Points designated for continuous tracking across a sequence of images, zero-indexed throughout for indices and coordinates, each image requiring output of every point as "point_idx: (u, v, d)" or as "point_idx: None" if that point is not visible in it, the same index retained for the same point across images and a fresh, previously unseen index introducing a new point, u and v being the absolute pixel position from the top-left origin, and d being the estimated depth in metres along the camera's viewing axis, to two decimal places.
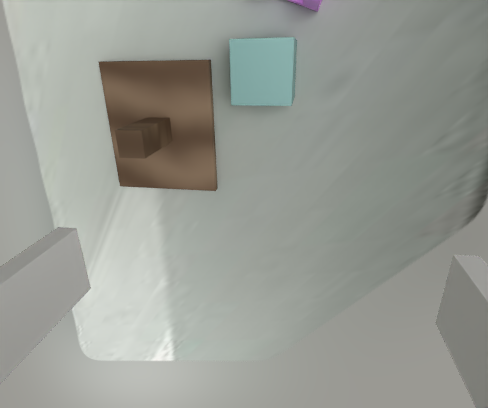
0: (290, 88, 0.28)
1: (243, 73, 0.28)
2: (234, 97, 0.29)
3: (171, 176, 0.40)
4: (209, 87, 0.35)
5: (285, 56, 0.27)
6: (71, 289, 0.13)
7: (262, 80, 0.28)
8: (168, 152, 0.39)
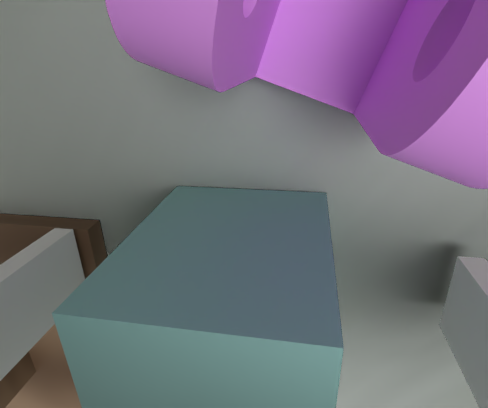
0: None
1: None
2: None
3: None
4: None
5: (301, 402, 0.06)
6: (68, 290, 0.12)
7: None
8: (32, 388, 0.17)
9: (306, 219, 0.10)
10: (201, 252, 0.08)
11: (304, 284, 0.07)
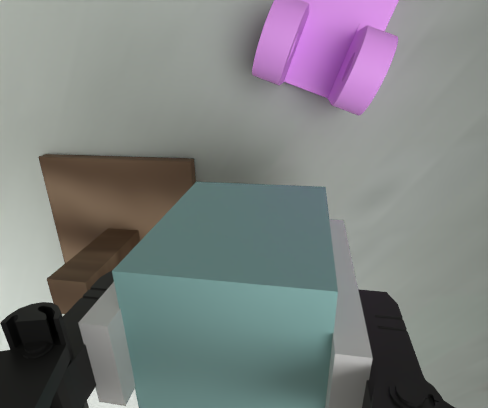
0: None
1: (167, 359, 0.09)
2: (148, 406, 0.10)
3: None
4: None
5: (305, 339, 0.08)
6: None
7: (228, 384, 0.09)
8: None
9: (308, 207, 0.11)
10: (223, 230, 0.10)
11: (307, 252, 0.09)
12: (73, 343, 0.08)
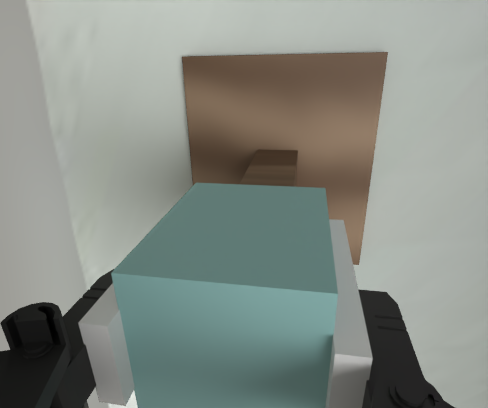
0: None
1: (166, 361, 0.09)
2: None
3: None
4: (379, 100, 0.20)
5: (306, 341, 0.08)
6: None
7: (228, 386, 0.09)
8: None
9: (308, 208, 0.11)
10: (223, 232, 0.10)
11: (307, 253, 0.09)
12: (73, 343, 0.08)
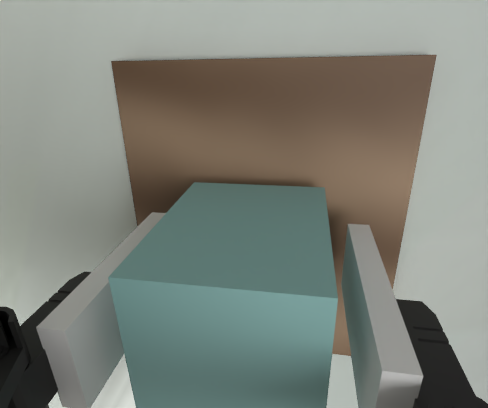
0: None
1: (164, 365, 0.09)
2: None
3: None
4: (419, 131, 0.13)
5: (305, 345, 0.08)
6: None
7: (227, 390, 0.09)
8: None
9: (307, 208, 0.11)
10: (221, 234, 0.10)
11: (307, 256, 0.09)
12: (32, 348, 0.08)
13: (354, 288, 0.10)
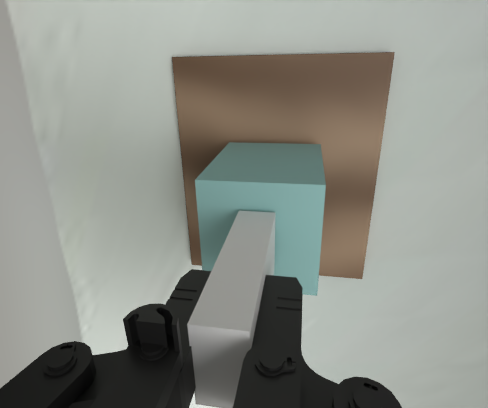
0: (315, 268, 0.15)
1: (223, 237, 0.15)
2: None
3: None
4: (385, 104, 0.19)
5: (308, 216, 0.14)
6: None
7: None
8: None
9: (309, 153, 0.17)
10: (255, 164, 0.16)
11: (308, 171, 0.14)
12: None
13: None
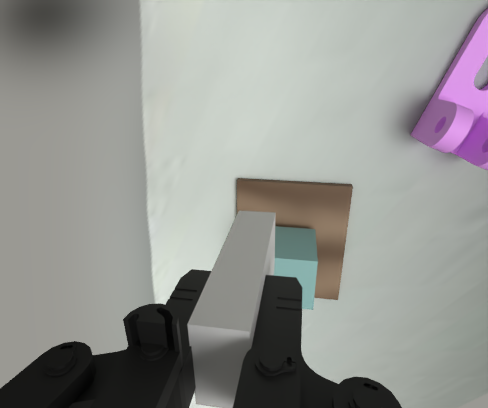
0: (312, 297, 0.31)
1: None
2: None
3: None
4: (348, 210, 0.36)
5: (309, 274, 0.31)
6: None
7: None
8: None
9: (309, 237, 0.34)
10: (284, 245, 0.33)
11: (310, 252, 0.31)
12: None
13: None
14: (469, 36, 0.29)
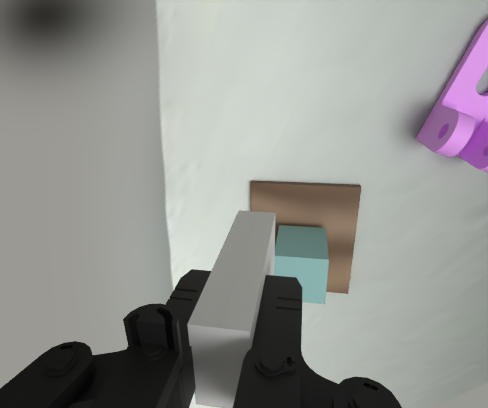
0: (324, 292, 0.34)
1: None
2: None
3: None
4: (357, 209, 0.38)
5: (321, 271, 0.33)
6: None
7: None
8: None
9: (320, 236, 0.36)
10: (296, 244, 0.35)
11: (321, 250, 0.34)
12: None
13: None
14: (471, 44, 0.30)
